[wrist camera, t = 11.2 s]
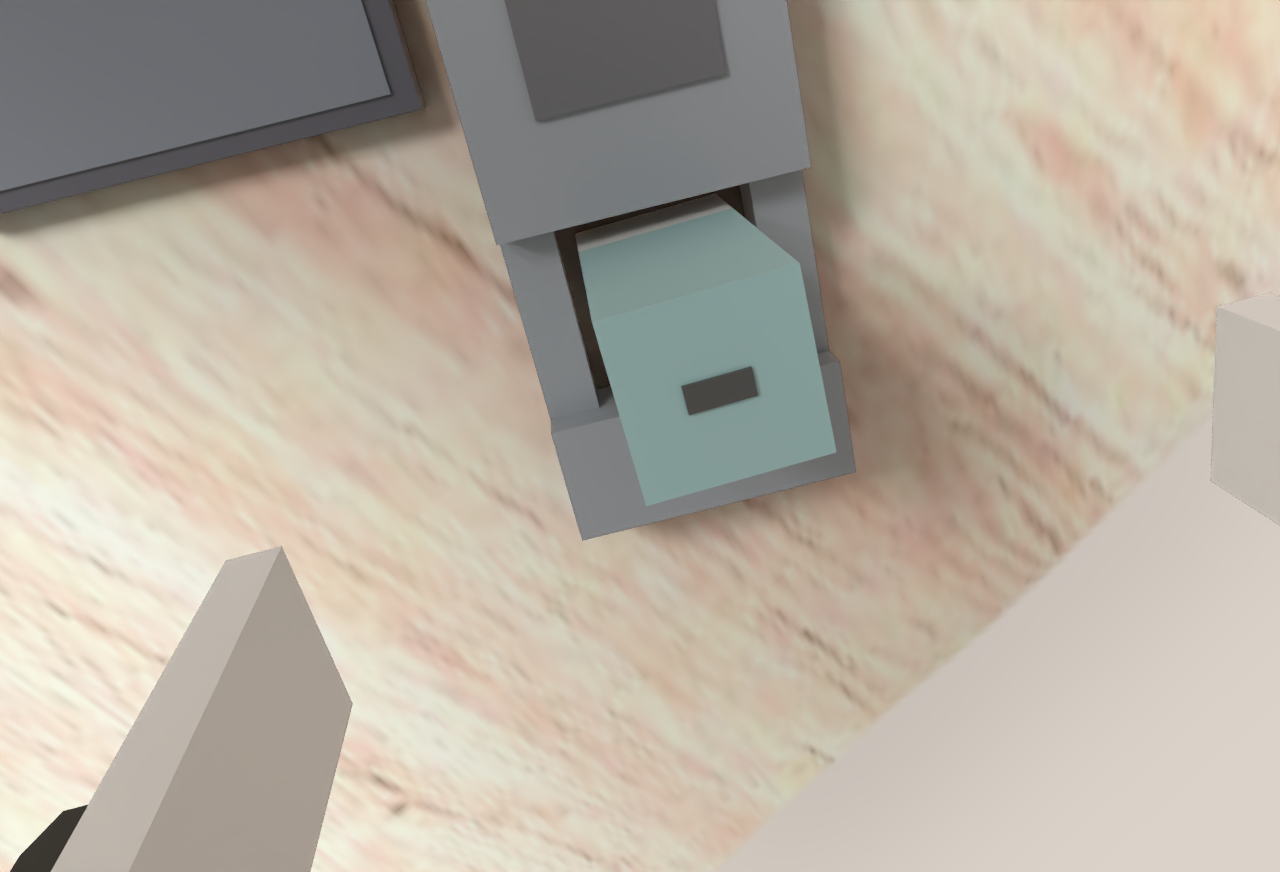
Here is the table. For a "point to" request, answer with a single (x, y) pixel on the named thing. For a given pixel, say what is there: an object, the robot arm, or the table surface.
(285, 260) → the table surface
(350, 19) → the phone
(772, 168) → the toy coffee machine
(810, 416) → the teal rectangular block
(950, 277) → the table surface
